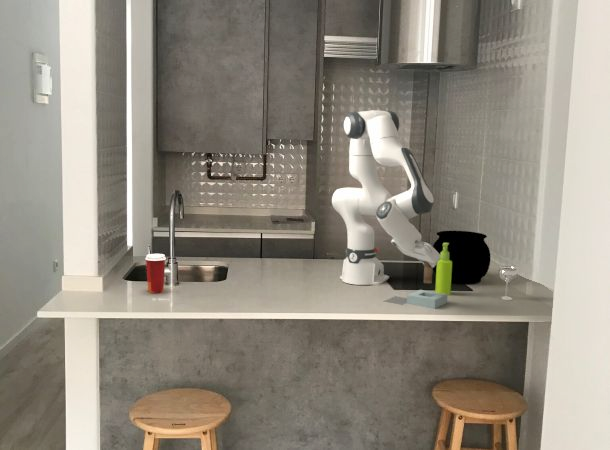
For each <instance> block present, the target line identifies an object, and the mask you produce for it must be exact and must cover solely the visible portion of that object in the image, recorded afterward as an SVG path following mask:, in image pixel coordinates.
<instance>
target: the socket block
mask: <svg viewBox="0 0 610 450" xmlns="http://www.w3.org/2000/svg"><path fill="white" fill-rule="evenodd" d="M406 298H407V303H406V304H407V305H411V306H417V307H422V308H428V309H437V308H439V307H441V306H443V305H446V304H447V303H448V295H447V294H443V293H437V292H435V291H431V290H423V289H418V290H416V291H414V292H411V293H408V294H407V295H406Z"/></svg>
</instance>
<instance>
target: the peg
mask: <svg viewBox="0 0 610 450" xmlns="http://www.w3.org/2000/svg"><path fill="white" fill-rule="evenodd" d="M423 270H424V271H423V283H424V284H433V272H434V271H433V267H430V265H429V263H428V262H427V261H425V264H423Z"/></svg>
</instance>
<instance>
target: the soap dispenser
mask: <svg viewBox="0 0 610 450" xmlns="http://www.w3.org/2000/svg"><path fill="white" fill-rule="evenodd" d="M448 245H449V243H443V251H442V252H441V255H440V256H441V258H440V260H439V261H438V262H437V268H436V274H435V289H434V290H435V291H434V292H437V293H443V294H447V296H451V293H452V292H451V290H452V283H451V277H452V261H450V260H449V252H448V251H447V248H448Z"/></svg>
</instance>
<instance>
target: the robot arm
mask: <svg viewBox="0 0 610 450" xmlns="http://www.w3.org/2000/svg"><path fill="white" fill-rule="evenodd" d="M399 129H400V119H399V117H398V115H397V113H396V112H394V111H391V110H376V109H372V110H364V111H363V110H362V111H353V112H349V113H347V114H346V115H345V117H344V121H343V130H344V134H345V136H347V138H349V139H350V142H349V148H348V149H349V153H348V154H349V156H348V157H349V158H348V163H349V164H348V166H349V167H348V168H349V169H348V172H349V174H350V176H351V177H352V178H353V179H356V180H357V181H358V182H359V183H360V184H361V186H362V187H352V186H351V187H348V186H347V187H342V188H337V189H336V190H335V191H334V192H333V194H332V197H331V205H332V208H334V210H335V211H336V212H337V213H338V214H339V215H340V216H341V218H342V219H343V221H344V223H345V227H346V232H347V236H346V238H347V247H345V248H346V249H345V256H346V257H345V258H344V259H343V265H342V274H341V275H339V280H342V282H343V283H346V284H351V285H355V286H356V285H357V286H358V285H359V286H366V285H367V286H368V285H371V286H373V285H374V286H376V285H378V286H379V285H381V284H383V283H384V282H386V281H388V280H389V279H390V276H389V275H387V274H384V272H385V271H384V270H385V269H384V268H385V267H384V264H383V263H382V262H381V261H380V260H379V259H378V258H377V254H379V251H380V249H379V247H375V234H376V233H375V230H374V227H372V226H371V225H370V224H369V223H366V222H365V220H364V219H363V216H371V217H372V216H374V217H376V219H377V221H378V223H379V225H380V226H381V227H382V228H383V230H384V231H385V232H386V233H387V234H388V236H391V238H392V239H391V240H390V243H391V244H392V245H393V246H394V247H396V248H397V249H398V250H399V251H400V252H401V253H402V254H403V255H405V256H408V257H410V258H415V259H417V260H418V261H420V263H422V264H423V265H424V264H425V261H427V262H428V263H429V265H430V267H435V265H436V263H437V262H438V261H439V259H440V258H441V256H440V254H439V253H438V252H437V251H436V250H435V249H434V248H433V245H432V244H430V243H428V242H425V241H422V239H423V238H422V234H421V232H419V230H418V228H416V227H415V225H414V224H412V223H410V221H409V220H410V219H412V218H415V217H417V216H420V215H424V214H427V213H430V212H431V211H432V209H433V206H434V204H435V198H434V195H433V193H432V191H431V189H430V188H429V186H428V184H427V183H426V179H425V177H424V175H423V174H422V171H421V169H420V167H419V163H418V162H417V160H416V158H415V155H414V154H413V152H412V150H410V149H409V148H408V147H405V146H403V144H402V142H401V139H400V135H399ZM377 164H379V165H382V166H385V167H389V168H392V167H403V168H404V171H405V172H406V175H407V178H408V180H409V183H410V184H411V185H410V186H411V187H410V188H409V189H408V190H405V191H403V192H401V193H399V194H395V195H394V196H393V195H392V194H391V193H390V192H389V191H388V190H387V188H385V186H384V185H383V184H382V183H381V180H380V178H379V176H378V166H377Z"/></svg>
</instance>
